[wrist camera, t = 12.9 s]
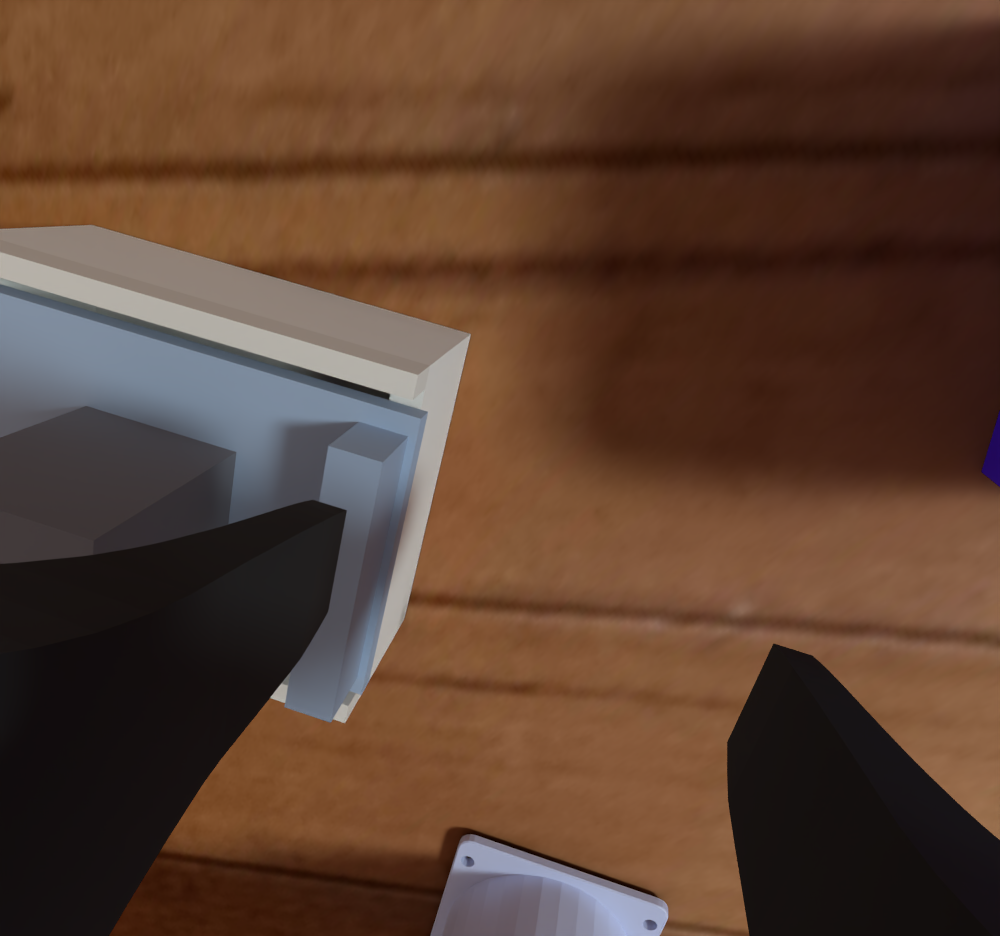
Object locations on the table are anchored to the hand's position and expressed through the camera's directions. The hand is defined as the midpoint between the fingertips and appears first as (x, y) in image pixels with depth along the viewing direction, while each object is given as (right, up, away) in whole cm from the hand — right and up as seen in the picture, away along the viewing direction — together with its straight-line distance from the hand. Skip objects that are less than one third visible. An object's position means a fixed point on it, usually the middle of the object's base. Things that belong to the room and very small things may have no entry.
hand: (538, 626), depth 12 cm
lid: (-9, +2, +7) cm, 11 cm away
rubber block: (-9, +2, +7) cm, 12 cm away
